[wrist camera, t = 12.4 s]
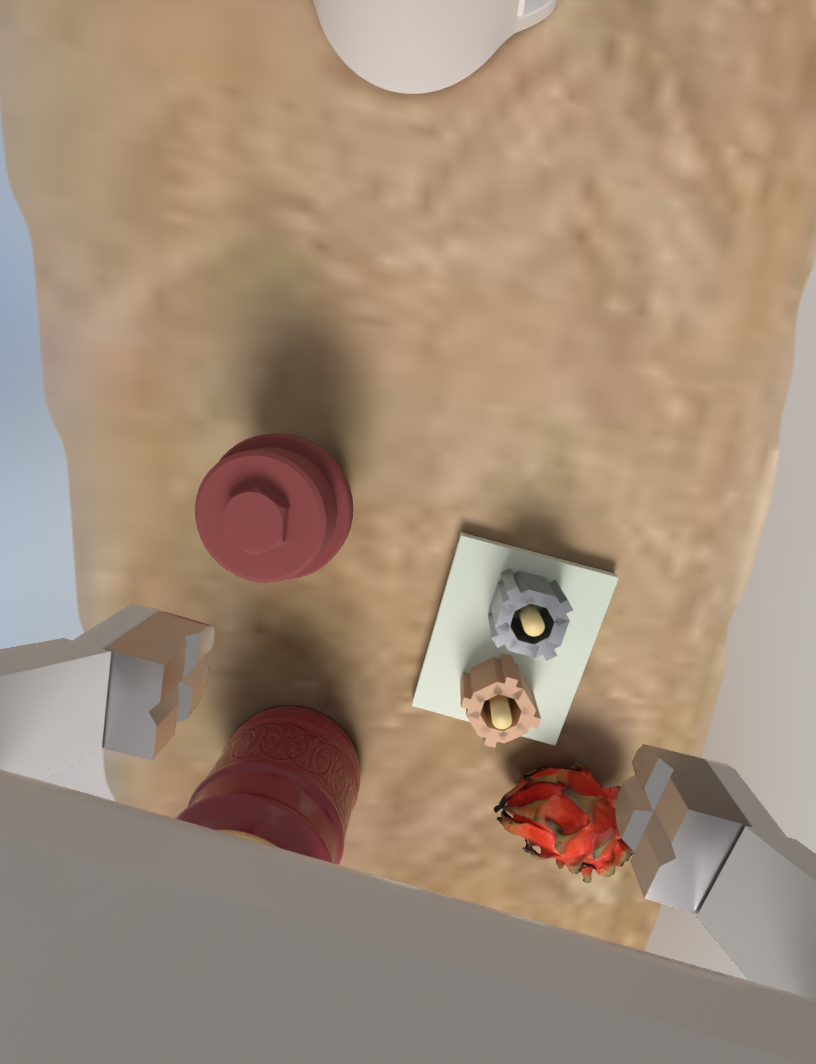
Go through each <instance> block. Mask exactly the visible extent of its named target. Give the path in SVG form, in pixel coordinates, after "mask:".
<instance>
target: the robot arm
mask: <svg viewBox="0 0 816 1064" xmlns="http://www.w3.org/2000/svg"><path fill="white" fill-rule="evenodd" d="M557 2H558V0H313V3H314V6H315V9H316V12H317V16H318V19H319V21H320V24H321V26H322V29H323V31H324V33H325V35H326V37H327V39H328V41H329V42H330V44H331V46H332V47H333V49H334V50H335V52H336V53H337V54H338V56H339V57H340V58H341V59H342V60H343V61H344V63H345V64H346V65H347V66H348V67H349V68H350V69H351V70H353V71H354V72H355V73H356V74H357V75H359V76H360V77H362V78H363V79H365V80H366V81H368V82H370V83H372V84H374V85H376V86H378V87H380V88H383V89H386V90H389V91H393V92H398V93H407V94H418V93H427V92H433V91H437V90H440V89H443V88H446V87H449V86H451V85H453V84H455V83H457V82H459V81H461V80H463V79H464V78H466V77H468V76H469V75H470V74H472V73H473V72H475V71H476V70H477V69H478V68H479V67H481V66H482V65H483V64H484V63H485V62H486V61H487V60H488V59H489V58H490V57H491V56H492V55H493V53H494V52H495V51H496V50H497V49H498V48H499V47H500V46H501V45H502V44H503V43H504V42H505V41H506V40H507V39H508V38H509V37H510V36H512V35H513V34H515V33H517V32H519V31H522V30H524V29H526V28H528V27H530V26H532V25H534V24H536V23H538V22H540V21H542V20H543V19H545V18H546V17H547V16H549V15H550V14H551V13H552V12H553V10H554V9H555V7H556V5H557ZM214 637H215V630H214V628H213V626H212V625H208V624H205V623H202V622H198V621H195V620H191V619H188V618H185V617H181V616H178V615H174V614H171V613H168V612H164V611H161V610H159V609H155V608H151V607H147V606H143V605H139V604H131V605H129V606H127V607H126V608H124V609H123V610H121V611H119V612H118V613H116V614H115V615H113V616H111V617H110V618H108V619H106V620H105V621H103V622H102V623H100V624H98V625H97V626H95V627H94V628H92V629H90V630H89V631H87V632H85V633H84V634H82V635H81V636H79V637H78V638H76V639H74V640H73V641H72V640H69V639H65V638H62V639H57V640H52V641H45V642H39V643H34V644H28V645H23V646H17V647H11V648H6V649H0V1064H816V854H815V853H813V852H812V851H811V850H809V849H808V848H807V847H805V846H804V845H803V844H801V843H800V842H799V841H797V840H795V839H792V838H788V837H786V835H785V834H784V833H783V832H782V830H781V829H780V827H779V826H778V825H777V823H776V822H775V821H774V820H773V818H772V817H771V816H770V814H769V813H768V812H767V810H766V809H765V808H764V807H763V805H762V804H761V803H760V801H759V800H758V799H757V797H756V796H755V795H754V793H753V792H752V791H751V790H750V788H749V787H748V786H747V784H746V783H745V782H744V780H743V779H742V778H741V777H740V775H739V774H738V773H737V771H736V770H735V769H734V768H732V767H731V766H729V765H727V764H724V763H720V762H715V761H711V760H707V759H702V758H698V757H694V756H690V755H686V754H682V753H678V752H674V751H670V750H666V749H662V748H658V747H654V746H649V745H644V744H643V745H642V746H641V747H640V748H639V749H638V750H637V752H636V754H635V756H634V758H633V761H632V765H633V768H634V771H635V774H636V775H634V776H632V777H631V778H629V779H627V780H626V781H624V782H623V783H622V786H621V788H620V791H619V793H618V796H617V802H616V812H615V814H616V821H617V827H618V830H619V833H620V835H621V838H622V839H623V841H624V842H625V843H626V844H627V845H628V846H629V847H630V848H631V849H632V850H633V851H634V854H633V857H632V859H631V861H630V862H631V864H632V867H633V870H634V872H635V875H636V877H637V880H638V883H639V885H640V888H641V890H642V893H643V896H644V898H645V899H648V900H652V901H655V902H658V903H661V904H665V905H668V906H671V907H674V908H677V909H680V910H684V911H687V912H690V913H693V914H697V919H698V920H699V921H700V922H701V923H702V925H703V926H704V927H705V928H706V929H707V931H708V932H709V933H710V934H711V935H712V937H713V938H714V939H715V940H716V942H717V943H718V944H719V945H720V947H721V948H722V949H723V950H724V951H725V953H726V954H727V955H728V956H729V957H730V959H731V960H732V961H733V962H734V963H735V965H736V966H737V967H738V968H739V970H740V971H741V972H742V973H743V974H744V976H745V977H746V978H747V979H748V980H744V979H741V978H737V977H734V976H730V975H726V974H723V973H720V972H716V971H712V970H709V969H705V968H702V967H698V966H694V965H691V964H688V963H684V962H680V961H677V960H674V959H670V958H666V957H663V956H659V955H655V954H652V953H649V952H645V951H642V950H638V949H635V948H631V947H627V946H624V945H620V944H617V943H613V942H610V941H606V940H603V939H599V938H596V937H592V936H589V935H585V934H581V933H578V932H574V931H571V930H567V929H564V928H560V927H557V926H553V925H550V924H546V923H543V922H539V921H535V920H532V919H528V918H525V917H521V916H518V915H514V914H511V913H507V912H504V911H500V910H496V909H493V908H489V907H486V906H482V905H479V904H475V903H472V902H468V901H465V900H461V899H458V898H454V897H451V896H447V895H443V894H440V893H436V892H433V891H429V890H426V889H422V888H419V887H415V886H412V885H408V884H405V883H401V882H398V881H394V880H390V879H387V878H383V877H380V876H376V875H373V874H369V873H366V872H362V871H359V870H355V869H352V868H348V867H345V866H341V865H337V864H334V863H330V862H327V861H323V860H320V859H316V858H313V857H309V856H306V855H302V854H299V853H295V852H292V851H288V850H284V849H281V848H277V847H274V846H270V845H267V844H263V843H260V842H256V841H253V840H249V839H246V838H242V837H239V836H235V835H231V834H228V833H224V832H221V831H217V830H214V829H210V828H207V827H203V826H200V825H196V824H193V823H189V822H186V821H182V820H178V819H175V818H171V817H168V816H164V815H161V814H157V813H154V812H150V811H147V810H143V809H140V808H136V807H133V806H129V805H126V804H122V803H118V802H115V801H111V800H108V799H104V798H100V797H97V796H94V795H90V794H87V793H83V792H80V791H76V790H73V789H69V788H65V787H61V786H58V785H55V784H51V783H47V782H44V781H40V779H42V778H45V777H47V776H49V775H51V774H53V773H55V772H57V771H59V770H62V769H64V768H66V767H68V766H70V765H72V764H74V763H76V762H79V761H81V760H83V759H85V758H87V757H89V756H91V755H93V754H95V753H98V752H100V751H101V750H102V748H104V749H108V750H112V751H117V752H121V753H125V754H129V755H133V756H137V757H141V758H145V759H149V760H153V759H154V758H155V757H156V755H157V754H158V753H159V752H160V751H161V749H162V748H163V747H164V746H165V745H166V744H167V742H168V741H169V740H170V739H171V738H172V737H173V735H174V734H175V727H176V723H177V722H179V721H182V720H185V719H187V718H189V716H190V715H191V714H192V713H193V711H194V710H195V709H196V707H197V706H198V704H199V702H200V700H201V698H202V696H203V694H204V691H205V688H206V685H207V681H208V676H209V671H210V668H209V666H208V664H207V662H206V660H205V658H204V657H205V656H206V655H207V654H208V653H209V652H210V651H211V650H212V648H213V645H214Z"/></svg>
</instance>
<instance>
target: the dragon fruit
mask: <svg viewBox="0 0 816 1064" xmlns="http://www.w3.org/2000/svg"><path fill="white" fill-rule="evenodd" d="M519 778H524V779H523V780H521V781H520V783H519V784H518V785H517V786H516V787H515V788H513V789H512V790H511V791H509V792H508V793H506V794H505V795H504V796H503V798H502V799H501V801H500V803H499V805H498V806H496V807H495V808H494V811H495V813H497V812H498V811H499V810H500V809H502V808H503V810H504V811H502V813H501V817H497V820H498V821H499V822H500V823H501V824H502V825H503V827H504V828H505V830H507V831H509V832H510V833H512V834H514V835H517V836H520V837H523V838H524V839H525V841H526V846H525V848H523V850H524V851H525V852H527V853H530V854H531V856H532V857H533V858H535V859H538V860H543V859H546V858H556V864H557V866H558V868H559V869H561V868H563V867H565V866H567V867H568V870H569V871H570V872H572V873H575V874H578V873H579V872H582V874H583V877H584V879H583V881H584V882H586V883H590V882H591V872H592V870H593V869H595V870H596V872H597V873H598V874H599V875H600V876H602V877H609V876H611V875H613V874H614V873H615V867H617V866H623V864H624V862H626V861H629V858H630V856H632V855H633V854H634V851H633V850H632V849H631V848H630V847H629V846H628V845H627V844H626V843H625V842H624V841H623V839H622V838H621V835H620V833H619V830H618V827H617V821H616V814H615V812H616V802H617V796H618V793H619V791H620V788H621V787H620V786H616V787H610V788H608V789H607V788H603V787H602V786H601V785H600V784H599V783H598V782H597V781H596V780H595V779H594V777H593V776H592V775H591V772H590V771H589V770H588V769H587V768H586V767H584V766H583V765H582V764H581V763H574V765H573V766H572V770H570V769H568V770H565V769H554V768H551V767H549V768H545V769H543V767H539V768H537V769H535V770H531V771H529V772H527V773H524V774H522V775H521V776H520V777H519ZM505 804H506V805H505ZM504 805H505V806H504ZM505 811H508V812H509V813H510V814H512V815H513V818H511V816H509V815H508V814H507V813H506V812H505ZM532 846H539V847H540V848H541V854H538V853H537V852H536V851H535V850H534V849H533V848H532Z"/></svg>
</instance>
